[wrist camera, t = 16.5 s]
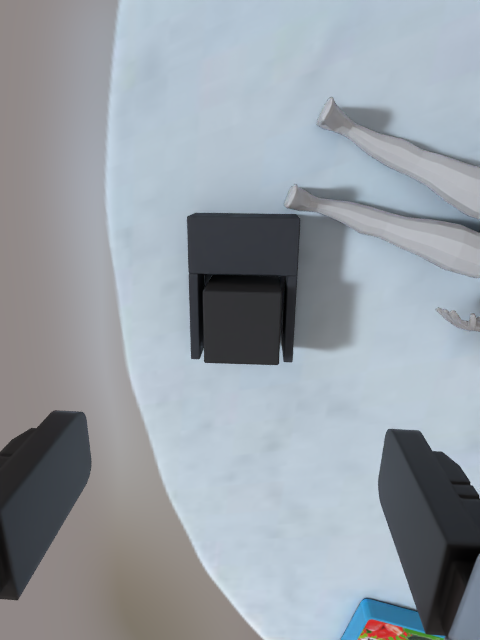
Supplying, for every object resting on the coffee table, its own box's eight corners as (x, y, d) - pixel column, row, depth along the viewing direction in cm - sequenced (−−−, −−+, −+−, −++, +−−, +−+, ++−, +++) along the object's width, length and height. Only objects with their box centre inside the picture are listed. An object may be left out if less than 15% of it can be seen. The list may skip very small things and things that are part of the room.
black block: (212, 274, 25) (202, 291, 21) (279, 275, 24) (281, 292, 21) (212, 336, 26) (204, 363, 22) (276, 338, 26) (278, 365, 22)
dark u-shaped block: (194, 212, 24) (186, 216, 21) (296, 214, 23) (300, 218, 21) (197, 343, 26) (191, 359, 24) (289, 346, 26) (292, 362, 23)
